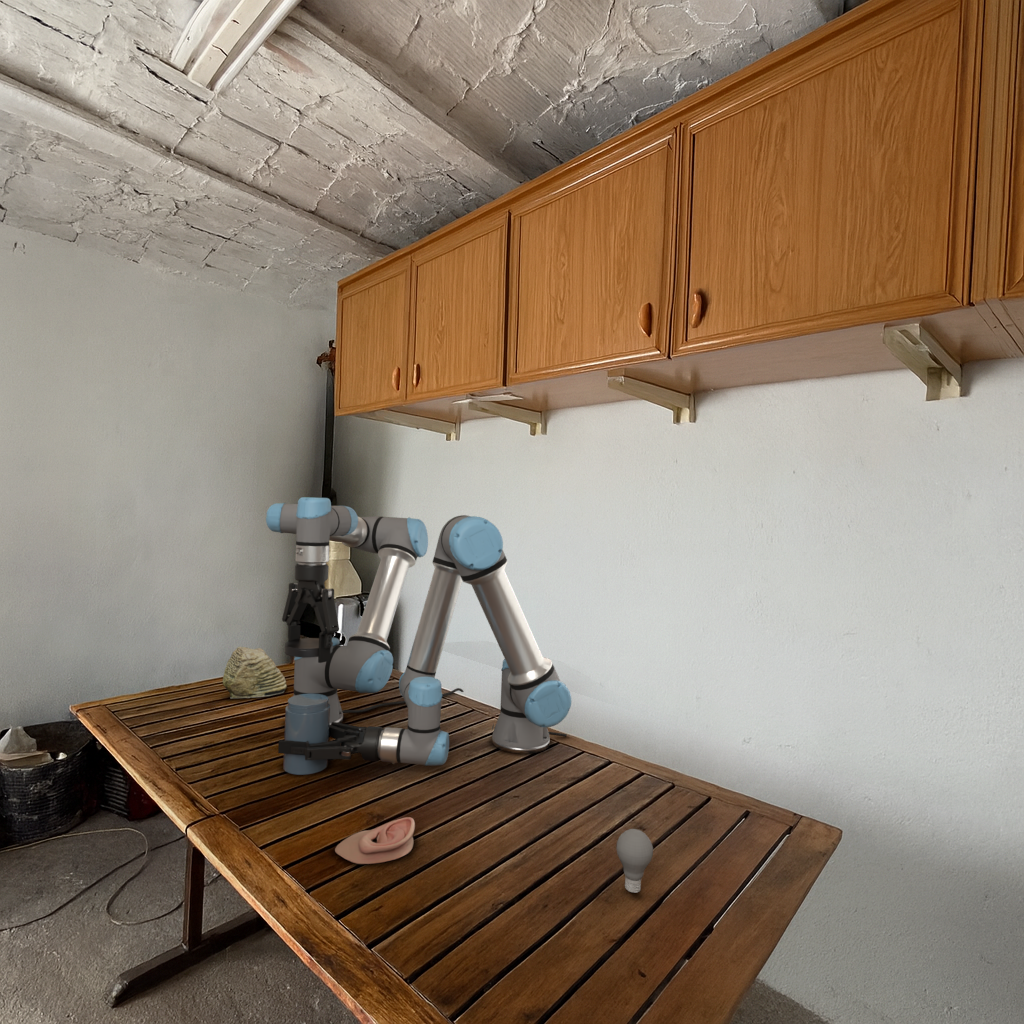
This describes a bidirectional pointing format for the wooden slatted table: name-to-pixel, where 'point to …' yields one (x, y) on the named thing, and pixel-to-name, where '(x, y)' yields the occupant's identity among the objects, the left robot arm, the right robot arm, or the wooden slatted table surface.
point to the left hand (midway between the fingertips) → (308, 657)
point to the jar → (306, 730)
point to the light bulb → (634, 857)
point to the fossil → (252, 674)
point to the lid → (303, 647)
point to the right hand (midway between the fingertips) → (289, 737)
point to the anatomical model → (379, 843)
